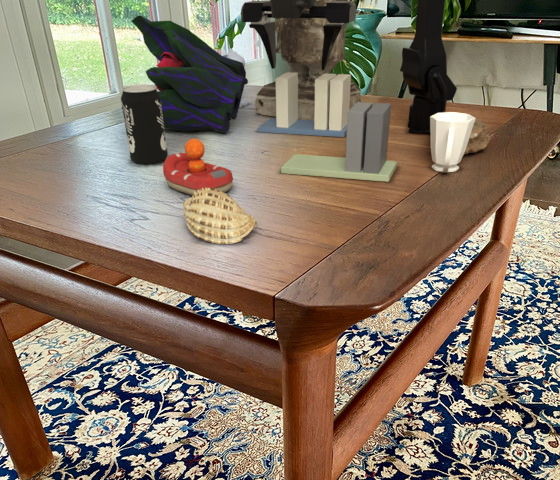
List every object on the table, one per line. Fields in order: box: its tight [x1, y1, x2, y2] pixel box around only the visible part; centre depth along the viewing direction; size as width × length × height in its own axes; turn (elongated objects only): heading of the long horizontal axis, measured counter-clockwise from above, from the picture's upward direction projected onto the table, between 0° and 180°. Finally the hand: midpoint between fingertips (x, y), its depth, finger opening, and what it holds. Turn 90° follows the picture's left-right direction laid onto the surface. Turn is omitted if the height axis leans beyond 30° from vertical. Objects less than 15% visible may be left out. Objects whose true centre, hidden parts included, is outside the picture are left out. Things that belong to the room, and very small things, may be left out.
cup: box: [429, 111, 476, 174], centre depth 94 cm, size 7×10×8 cm
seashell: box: [182, 188, 258, 245], centre depth 76 cm, size 8×6×10 cm
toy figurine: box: [220, 48, 249, 108], centre depth 137 cm, size 7×6×12 cm
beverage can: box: [120, 83, 169, 166], centre depth 100 cm, size 7×7×12 cm
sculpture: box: [254, 0, 362, 120], centre depth 124 cm, size 19×17×30 cm
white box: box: [275, 71, 298, 128], centre depth 118 cm, size 2×7×9 cm, turn 162°
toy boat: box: [162, 138, 234, 197], centre depth 89 cm, size 8×12×8 cm, turn 47°
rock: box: [464, 117, 491, 155], centre depth 104 cm, size 13×11×5 cm
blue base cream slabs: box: [257, 73, 352, 138], centre depth 117 cm, size 18×8×10 cm, turn 72°
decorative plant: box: [121, 14, 249, 135], centre depth 118 cm, size 21×26×30 cm
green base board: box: [280, 101, 398, 183], centre depth 94 cm, size 18×8×10 cm, turn 72°
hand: (298, 69), depth 103 cm, fingers open, 9 cm apart
